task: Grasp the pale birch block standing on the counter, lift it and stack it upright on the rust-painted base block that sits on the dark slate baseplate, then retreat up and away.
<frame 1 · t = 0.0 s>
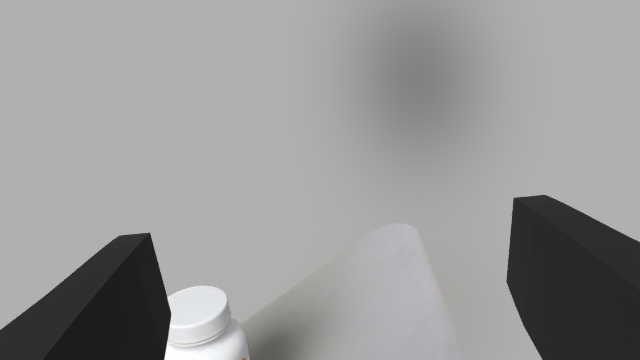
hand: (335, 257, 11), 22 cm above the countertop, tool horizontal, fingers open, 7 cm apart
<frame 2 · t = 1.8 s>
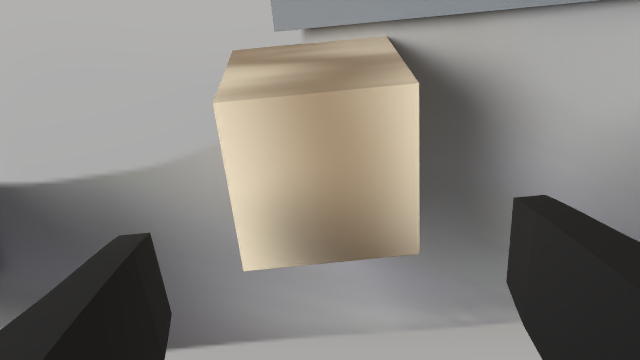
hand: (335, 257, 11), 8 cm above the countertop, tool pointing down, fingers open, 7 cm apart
birch block: (316, 115, 18), on the countertop
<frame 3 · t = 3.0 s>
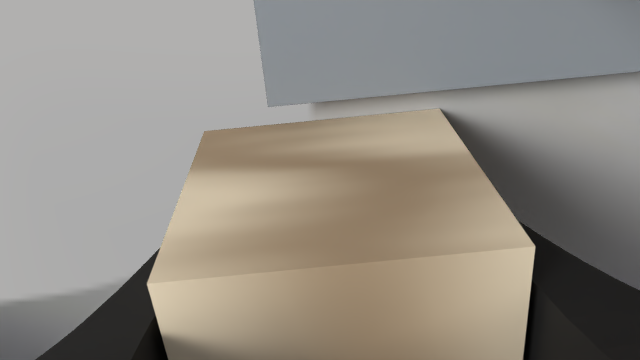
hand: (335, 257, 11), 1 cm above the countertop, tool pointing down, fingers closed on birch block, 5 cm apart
birch block: (330, 220, 12), on the countertop, touching gripper
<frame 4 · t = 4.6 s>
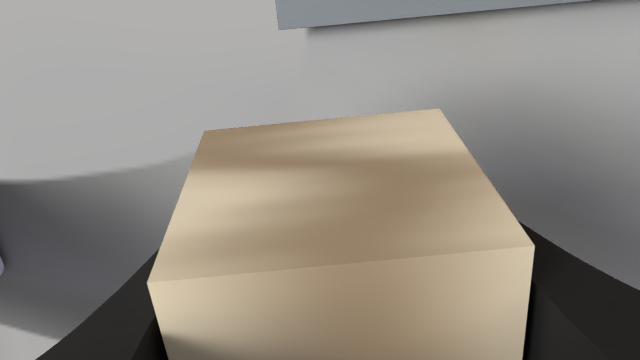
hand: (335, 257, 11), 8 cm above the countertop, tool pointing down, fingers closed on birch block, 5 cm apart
birch block: (330, 220, 12), point 7 cm above the countertop, touching gripper
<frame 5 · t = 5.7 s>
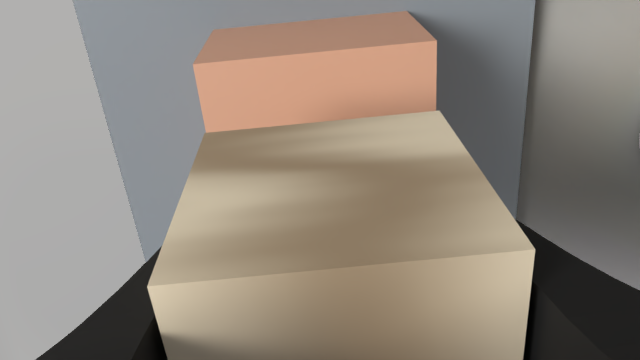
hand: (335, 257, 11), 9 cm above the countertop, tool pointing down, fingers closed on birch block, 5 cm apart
birch block: (330, 222, 12), point 8 cm above the countertop, touching gripper
baseplate: (317, 105, 19), on the countertop
base block: (318, 111, 18), point 1 cm above the countertop, touching baseplate
when the fingers open (7 cm above the countertop, at t = 6.6 s): birch block stays where it is, resting on base block.
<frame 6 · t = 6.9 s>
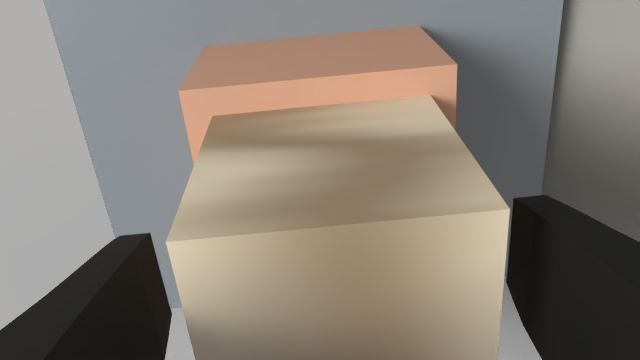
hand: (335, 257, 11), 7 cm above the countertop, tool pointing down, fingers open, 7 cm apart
birch block: (329, 200, 13), point 5 cm above the countertop, touching base block
baseplate: (320, 128, 17), on the countertop
base block: (320, 135, 17), point 1 cm above the countertop, touching baseplate, birch block
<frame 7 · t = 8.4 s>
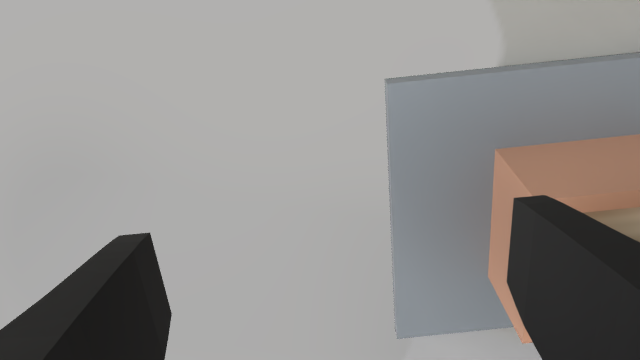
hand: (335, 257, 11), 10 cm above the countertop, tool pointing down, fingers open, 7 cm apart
birch block: (617, 268, 19), point 5 cm above the countertop, touching base block
baseplate: (558, 201, 23), on the countertop
base block: (565, 209, 22), point 1 cm above the countertop, touching baseplate, birch block
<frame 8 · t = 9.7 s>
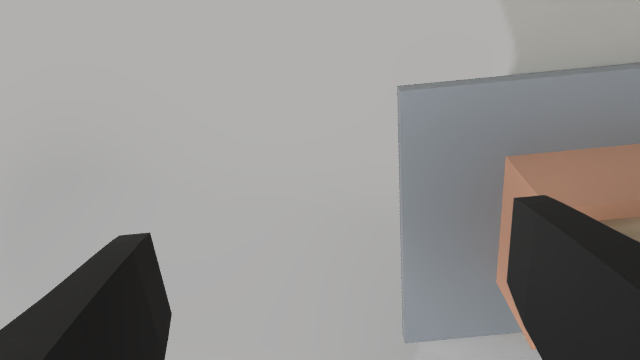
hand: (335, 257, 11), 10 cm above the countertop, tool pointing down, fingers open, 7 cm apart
birch block: (627, 276, 19), point 5 cm above the countertop, touching base block
baseplate: (567, 208, 23), on the countertop
base block: (573, 216, 23), point 1 cm above the countertop, touching baseplate, birch block
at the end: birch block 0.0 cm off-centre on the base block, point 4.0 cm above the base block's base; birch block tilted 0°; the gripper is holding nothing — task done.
